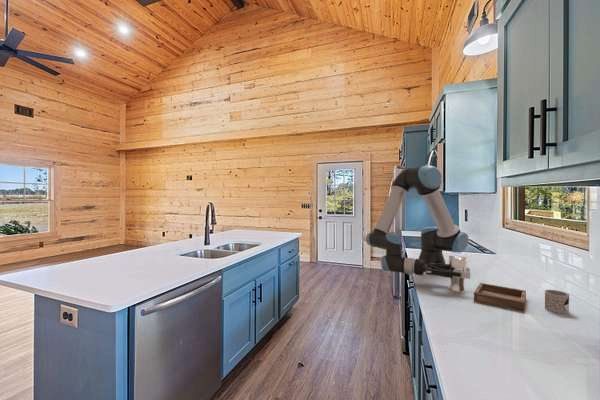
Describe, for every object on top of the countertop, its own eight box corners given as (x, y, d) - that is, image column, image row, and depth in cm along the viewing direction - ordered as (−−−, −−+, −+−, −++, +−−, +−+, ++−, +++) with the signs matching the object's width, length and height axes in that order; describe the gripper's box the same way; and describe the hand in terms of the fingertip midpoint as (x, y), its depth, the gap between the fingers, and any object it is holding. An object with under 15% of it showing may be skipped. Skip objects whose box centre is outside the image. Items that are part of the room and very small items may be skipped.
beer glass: (469, 293, 123) (469, 259, 123) (453, 293, 123) (453, 259, 123) (460, 287, 130) (460, 255, 130) (445, 287, 130) (445, 255, 130)
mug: (570, 316, 100) (570, 297, 100) (545, 311, 104) (545, 293, 104) (566, 306, 108) (566, 289, 108) (543, 302, 112) (543, 286, 112)
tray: (480, 290, 126) (480, 282, 126) (525, 299, 115) (526, 290, 115) (473, 301, 114) (473, 292, 114) (524, 311, 103) (524, 302, 103)
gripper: (417, 269, 144) (469, 275, 133) (411, 280, 127) (470, 288, 115) (417, 254, 144) (469, 259, 133) (411, 263, 127) (470, 270, 115)
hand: (469, 273), depth 124 cm, fingers open, 8 cm apart
